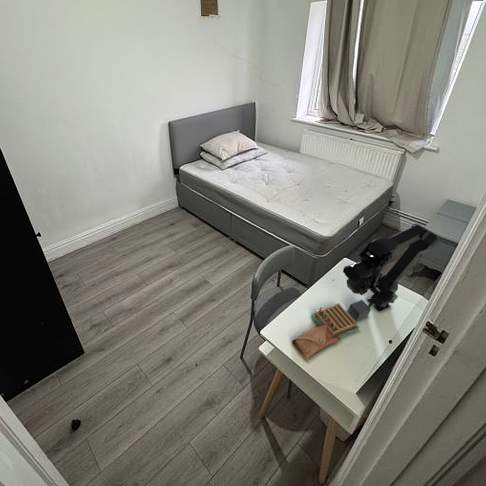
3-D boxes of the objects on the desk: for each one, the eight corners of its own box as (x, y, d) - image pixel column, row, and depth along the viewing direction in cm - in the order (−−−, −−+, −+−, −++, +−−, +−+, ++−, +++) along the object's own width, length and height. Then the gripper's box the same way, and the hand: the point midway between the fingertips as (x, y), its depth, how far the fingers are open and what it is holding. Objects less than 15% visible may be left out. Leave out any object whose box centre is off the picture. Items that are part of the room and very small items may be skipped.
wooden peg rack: (336, 307, 123) (341, 295, 119) (357, 331, 114) (363, 319, 110) (311, 316, 120) (314, 304, 115) (330, 342, 111) (335, 330, 106)
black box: (358, 307, 123) (362, 299, 120) (367, 317, 119) (371, 308, 116) (347, 312, 121) (350, 303, 118) (355, 321, 118) (359, 313, 114)
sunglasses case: (307, 362, 104) (303, 345, 103) (294, 353, 110) (290, 337, 110) (342, 340, 111) (339, 324, 110) (328, 332, 117) (325, 317, 116)
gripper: (336, 259, 109) (328, 286, 118) (374, 296, 95) (362, 324, 104) (359, 251, 112) (349, 278, 121) (400, 286, 98) (385, 314, 107)
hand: (360, 297), depth 113 cm, fingers open, 9 cm apart
